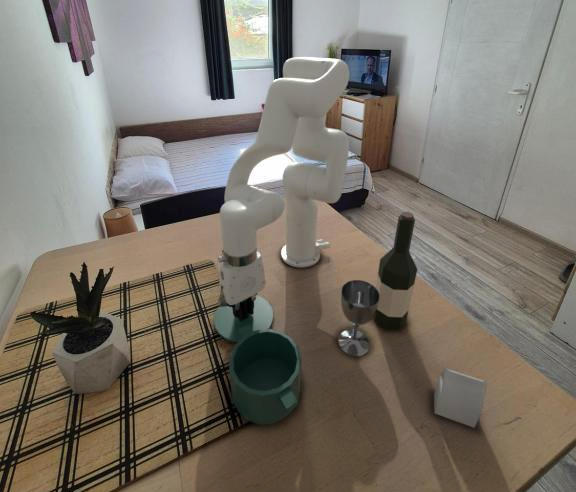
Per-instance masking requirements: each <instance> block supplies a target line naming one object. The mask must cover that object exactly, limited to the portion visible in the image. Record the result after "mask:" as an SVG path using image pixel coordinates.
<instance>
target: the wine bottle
mask: <svg viewBox="0 0 576 492" xmlns="http://www.w3.org/2000/svg"><path fill="white" fill-rule="evenodd" d="M415 223H416V219H415V217H414V214H413V212H409V211H402V212H401V214H400V215H398V219H397V225H396V230H395V235H394V242H393V247H392V248H391V249H390V250H389V251H388V252H386V253H385V254H384V255H383V256H382V257H381V258H380V259H379V265H378V272H377V277H376V285H375V288H376V289H377V290H378V292H379V304H378V308H377V311H376V313H375V315H374V317H373V321H374V322H375V323H376V324H378V325H379V326H380V327H382V328H383V329H385V330H390V331H395V330H396V331H400V330H401V329H402V328H403V327H404V326H405V325H406V324H407V320H408V315H409V310H410V306H411V301H412V297H413V292H414V286H415V282H416V278H417V273H418V268H417V265H416V263H415V261H414V259H413V257H412V254H411V252H410V249H411V244H412V239H413V234H414V228H415Z"/></svg>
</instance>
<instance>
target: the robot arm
mask: <svg viewBox="0 0 576 492" xmlns="http://www.w3.org/2000/svg"><path fill="white" fill-rule="evenodd" d="M349 79H350V69H349V65H348V64H347V62H345V61H344V60H342V59H340V58H329V57H313V56H296V57H291V58H288V59H287V60H286V61H285V62H284V63H283V67H282V77H280V78H277V79H274V80H273V81H272V82H271V83H270V85H269V87H268V90H267V94H266V97H265V102H264V106H263V109H262V114H261V119H260V123H259V125H258V126H259V127H258V129H257V134H256V136H255V137H256V138H255V140H254V141H253V143H252V144H251V145H250V146H248V147H247V148H245V150H244V151H243V152H241V154H240V155H239V156H238V158H237V159H236V160H235V161H234V163H233V165H232V166H231V168H230V171H229V174H228V177H227V181H226V186H225V190H224V199H223V200H224V203H223V204H222V205H221V207H220V209H219V220H220V232H221V245H222V249H221V254H220V255H219V256H217V261H218V263H219V264H220V266H219V275H218V276H219V278H218V280H219V283H218V284H219V296H218V300H217V303H216V304H217V305H218V307H219V306H220V307H226V306H229V307H232V309H233V315H234V317H235V318H236V317H237V318H238V319H239V321H242V319H243V314H242V307H241V306H240V302H241V301H243V300H245V299H247V298H248V308H249V313H250V315H253V314H254V301H255V300H256V295H257V296H258V294H259V293H260V292H261V291H263V290H264V289H265V288H266V283H267V281H266V275H265V274H266V273H265V267H264V262H263V258H262V255H261V253H260V252H259V251H258V240H257V237H258V235H257V231H258V230H259V229H262V228H265V227H267V226H269V225H271V224H273V223H274V222H276V221H278V220H279V219H280V217H282V215H283V213H284V210H285V245H283V246H282V248H281V250H280V257H281V259H282V261H283V262H284V263H285V264H287V265H289V266H291V267H295V268H308V267H312V266H314V265H315V264H317V263H318V262H319V260H320V259H321V251H322V250H326V249H330V248H331V243H330V242H329V241H325V242H324V239H323V238H322V239H317V232H318V231H317V230H318V229H317V228H318V210H319V209H318V204H317V202H322V203H326V204H335V203H337V202H338V201H339V200H340V199H341V196H342V193H343V191H344V185H345V179H346V172H347V167H348V166H347V165H348V159H349V153H350V140H349V136H348V135H347V133H346V132H345V131H343V130H341V129H337V128H331V127H327V126H326V122H327V113H329V112H330V110H331V109H332V108H333V107H334V105H335V104H336V103H337V101H338V100H339V98H340V97H341V96H342V95H343V93H344V92H345V91H346V89H347V87H348V83H349ZM291 150H292V153H293V154H294V156H296V157H298V158H301V159H304V160H308V161H314V162H318V163H323V164H324V165H325V167H324V166H320V165H316V164H312V163H308V162H302V161H295V162H291V163H289V164H288V165H286V167H285V168H284V170H283V173H282V185H283V191H284V195H285V199H284V197H282V195H281V194H279V193H277V192H275V191H272V190H269V189H265V188H262V187H259V186H255V185H251V184H248V183H249V180H250V176H251V173H252V171H253V170H254V169H255V168H256V166H257V165H258V164H260V163H261V162H262V161H265V160H266V159H269V158H272V157H275V156H281V155H283V154H287V153H289V152H290V151H291Z"/></svg>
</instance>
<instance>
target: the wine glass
mask: <svg viewBox="0 0 576 492" xmlns="http://www.w3.org/2000/svg"><path fill="white" fill-rule="evenodd" d="M340 292H341V293H340V303H341V304H340V305H341V310H342V314H343V315H344V318H345V319H346V320H347V321H348V322H350V323H351V324H352V327H353V329H346V330H344V331H342V332H341V333H340V335H339V336H338V345H339V347H340V349H341V351H343V352H344V354H346V355H349V356H351V357H357V358H359V357H362V356H365V355H366V354H367V353H368V352H369V351H370V340H369V338H368V337H367V336H366V335H365V334H364V333H363V332H361V331H360V330H359V328H360V326H364V325H367V324H369V323H370V322H371V321H372V320H374V315H375V313H376V311H377V308H378V304H379V292H378V290H377V289H376V286H375V285H373V284H371V283H370V282H368V281H365V280H362V279H353V280H348V281H347V282H345V284H343V285H342V287H341V291H340Z"/></svg>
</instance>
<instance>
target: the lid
mask: <svg viewBox="0 0 576 492" xmlns="http://www.w3.org/2000/svg"><path fill="white" fill-rule="evenodd" d="M240 306H241V307H242V314H243V319H242V321H239V319H238V318H237V317H236V318H235V317H234V315H233V309H232V307H229V306H226V307H220V306H219V305H218V307H217V309H216V310H215V313H214V316H213V326H214V329H215V331H216V333H217V334H218V335H219V336H220V337H221V339H224V340H226V341H228V342H231V343H236V344H237V343H238V342H239V341H240V340H241V339H242V336H241V335H240V333H239V329H240V328H242V327H245V326H247V325H250V327H251V328H252V330H253V331H256V330H263V329H271V327H272V325H273V323H274V309H273V307H272V305H271V304H270V302H269V301H268V300H266V299H265V298H263V297H262V296H260V295H258V294H257V295H256V300H255V301H254V314H253V315H250V313H249V308H248V298H247V299H245V300H243V301H241V302H240Z"/></svg>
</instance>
